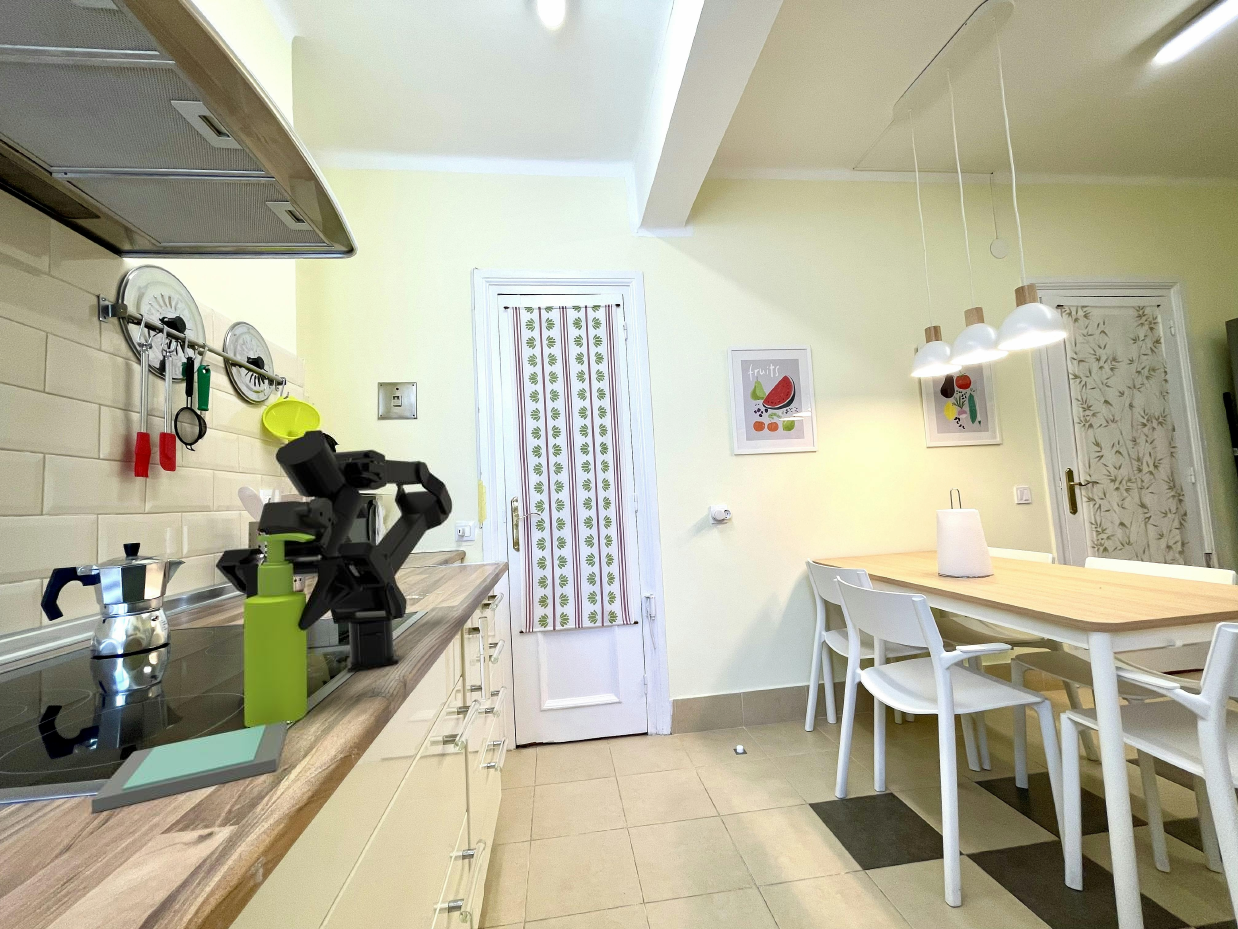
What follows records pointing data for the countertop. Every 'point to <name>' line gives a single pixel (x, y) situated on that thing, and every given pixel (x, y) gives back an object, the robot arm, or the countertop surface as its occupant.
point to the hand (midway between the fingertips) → (273, 629)
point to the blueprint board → (193, 765)
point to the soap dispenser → (275, 641)
